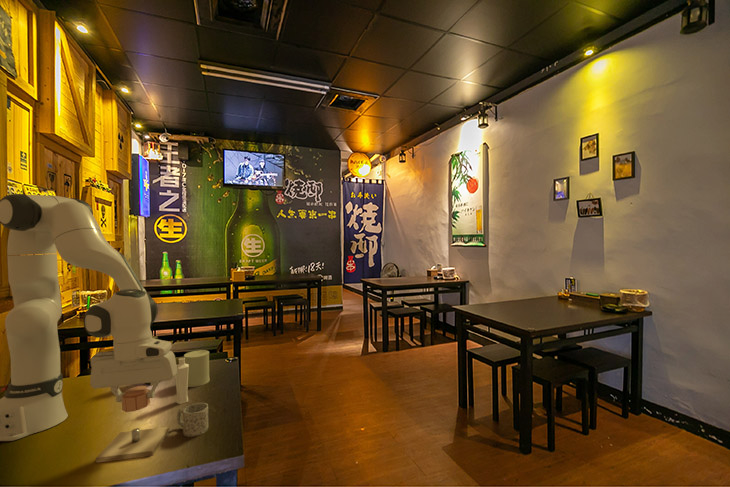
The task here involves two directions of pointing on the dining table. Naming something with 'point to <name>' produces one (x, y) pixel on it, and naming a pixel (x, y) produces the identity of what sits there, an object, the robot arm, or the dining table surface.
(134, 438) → the stud
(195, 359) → the can
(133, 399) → the cap
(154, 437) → the board
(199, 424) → the mug
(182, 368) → the perfume bottle
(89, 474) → the dining table surface
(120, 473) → the dining table surface
